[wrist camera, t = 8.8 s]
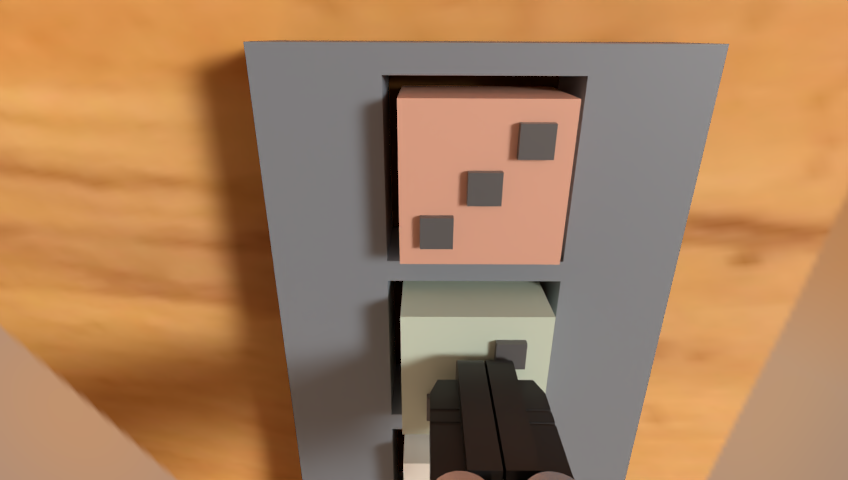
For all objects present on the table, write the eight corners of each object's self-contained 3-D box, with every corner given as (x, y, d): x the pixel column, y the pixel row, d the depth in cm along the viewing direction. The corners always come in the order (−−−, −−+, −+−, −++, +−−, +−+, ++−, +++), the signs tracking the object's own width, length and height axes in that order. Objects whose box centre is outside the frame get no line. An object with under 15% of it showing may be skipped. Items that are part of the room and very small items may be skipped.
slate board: (323, 483, 20) (310, 542, 18) (275, 40, 13) (243, 41, 11) (588, 484, 20) (609, 543, 18) (675, 42, 13) (729, 44, 11)
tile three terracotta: (404, 223, 14) (399, 267, 12) (402, 85, 13) (396, 99, 10) (535, 223, 14) (562, 268, 12) (549, 86, 13) (584, 100, 10)
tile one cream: (407, 479, 19) (404, 555, 16) (406, 399, 17) (402, 469, 14) (508, 479, 19) (523, 556, 16) (517, 399, 17) (535, 469, 14)
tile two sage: (405, 371, 16) (402, 439, 14) (404, 267, 15) (399, 320, 12) (521, 371, 16) (541, 440, 14) (532, 268, 15) (557, 321, 12)
